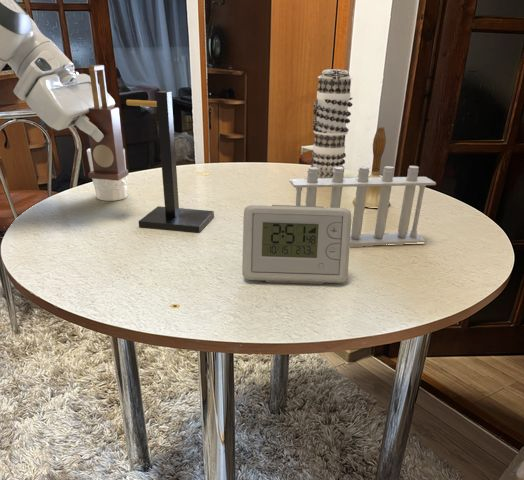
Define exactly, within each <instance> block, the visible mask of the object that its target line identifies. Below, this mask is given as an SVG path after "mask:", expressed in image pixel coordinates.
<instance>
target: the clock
mask: <svg viewBox="0 0 524 480" xmlns="http://www.w3.org/2000/svg"><path fill="white" fill-rule="evenodd" d="M88 70H89V76H90V79H91V87H92V94H93V101H94V107H92V108H88V109H89V113H87V114H85V115H86V116H87V117H88V118H89V121H90V122H91V123H92V124H94V125H95V126H96V127H97V128H99V127H100V128H101V129H102V130H103V132H105V134H106V137H105V138H104V139H103V140H102V141H100V142H96V141H95V140H94V138H93V137H92V136H91V135H88V142H89V149H91V156H92V163H93V171H90V172H88V173H87V175H88V179H91V180H92V179H104V180H116V181H119V180H120V179H122V178H124V177H125V176H127V177H128V176H129V169H127V168H126V169H125V160H124V151H123V148H124V143H123V135H122V126H121V117H120V108H119V107H118V106H114V107H109V105H108V97H107V93H108V90H107V82H106V73H105V65H104V64H95V65H89V66H88ZM98 84H99V86H100V94H101V101H102V106H101V102H100V95H99V87H98Z"/></svg>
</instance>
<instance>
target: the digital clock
mask: <svg viewBox="0 0 524 480" xmlns="http://www.w3.org/2000/svg"><path fill="white" fill-rule="evenodd" d="M242 225H243V226H242V230H243V231H242V262H241V263H242V266H241V267H242V269H241V271H242V277H243V278H244V279H245V280H249V281H265V283H272V284H273V283H276V284H277V283H279V284H280V283H281V284H306V285H308V284H309V285H324V283H333V284H335V283H336V284H341V283H344V282H346V281H347V279H348V276H349V261H350V248H351V247H350V234H352V212H351V210H350V209H349V208H346V207H340V208H330V207H325V206H323V205H322V206H321V205H320V206H319V205H316V206H306V205H300V206H296V205H290V204H289V205H288V204H286V205H285V204H272V205H261V204H252V205H251V204H249V205H247V206H245V208H244V210H243V223H242Z"/></svg>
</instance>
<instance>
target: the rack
mask: <svg viewBox="0 0 524 480" xmlns="http://www.w3.org/2000/svg"><path fill="white" fill-rule="evenodd" d="M172 93H173V92H172V91H171V90H159V91H156V92H155V100H142V99H126V101H125V103H126V106H133V107H134V106H135V107H154V108H156V111H157V125H158V139H159V149H160V150H159V151H160V152H159V153H160V163H161V176H162V187H163V199H164V206H160V205H159V206H156V207H155V208H154V209H152V210H151V211H150V212H148V213H147V214H146V215H145V216H143V217H142V218H141V219H139V220H138V228H143V229H154V230H163V231H164V230H165V231H173V232H174V231H175V232H185V233H196V234H200V233H201V232H202V231H203V229H204V228H205V227H206V226H207V225H208V224H209V223H210V222H211V221H212V220H213V219H214V218H215V211H214V210H207V209H206V210H205V209H194V208H193V209H192V208H183V207H182V208H181V207H180V202H179V189H178V188H179V187H178V173H177V172H178V171H177V157H176V141H175V140H176V139H175V125H174V111H173V95H172Z"/></svg>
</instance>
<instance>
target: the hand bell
mask: <svg viewBox="0 0 524 480" xmlns="http://www.w3.org/2000/svg"><path fill="white" fill-rule="evenodd" d="M386 137H387V136H386V132H385V126H377V130H376V132H375V135H374V136H373V140H372V141H373V142H372V156H373V161H372V168H371V174H369V176H368V178H377V177H381V175H380V172H381V161H382V157H383V155H384V152H385V149H386V142H387V138H386ZM380 192H381V186H367V191H366V199H365V207H378V206H379V199H380ZM355 198H356V196H355V197H354V198H353V199H352V204H354V205H355ZM389 204H390V205H391V202H390V201H389Z"/></svg>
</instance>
